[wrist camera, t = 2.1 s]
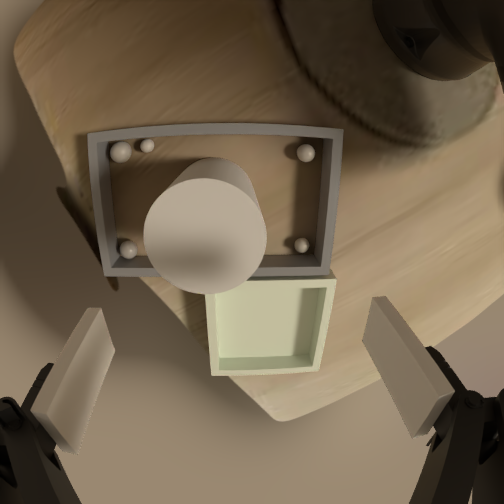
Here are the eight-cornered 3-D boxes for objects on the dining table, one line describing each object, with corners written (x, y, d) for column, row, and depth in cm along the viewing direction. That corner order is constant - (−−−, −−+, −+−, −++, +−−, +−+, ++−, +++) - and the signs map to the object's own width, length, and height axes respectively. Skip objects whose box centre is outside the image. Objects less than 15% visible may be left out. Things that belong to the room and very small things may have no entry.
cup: (158, 194, 30) (120, 236, 19) (217, 140, 28) (207, 151, 17) (211, 249, 33) (203, 313, 22) (269, 200, 31) (291, 244, 20)
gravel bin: (99, 132, 27) (87, 133, 24) (333, 128, 28) (343, 129, 26) (113, 264, 33) (104, 276, 30) (321, 262, 34) (328, 275, 32)
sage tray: (206, 267, 34) (204, 281, 31) (329, 266, 35) (336, 278, 32) (212, 359, 39) (211, 375, 37) (313, 356, 40) (318, 370, 38)
